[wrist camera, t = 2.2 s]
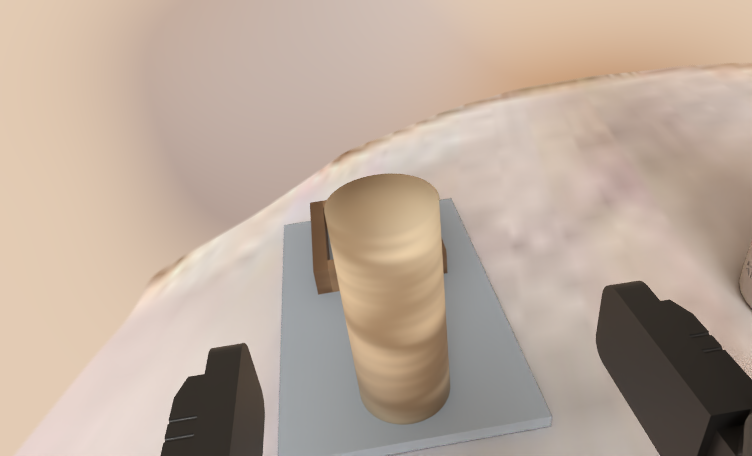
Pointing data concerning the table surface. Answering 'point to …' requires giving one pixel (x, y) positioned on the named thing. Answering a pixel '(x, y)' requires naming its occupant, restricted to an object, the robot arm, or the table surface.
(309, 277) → the board
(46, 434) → the table surface
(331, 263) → the socket collar
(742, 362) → the table surface
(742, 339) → the table surface
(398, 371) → the maple pillar
